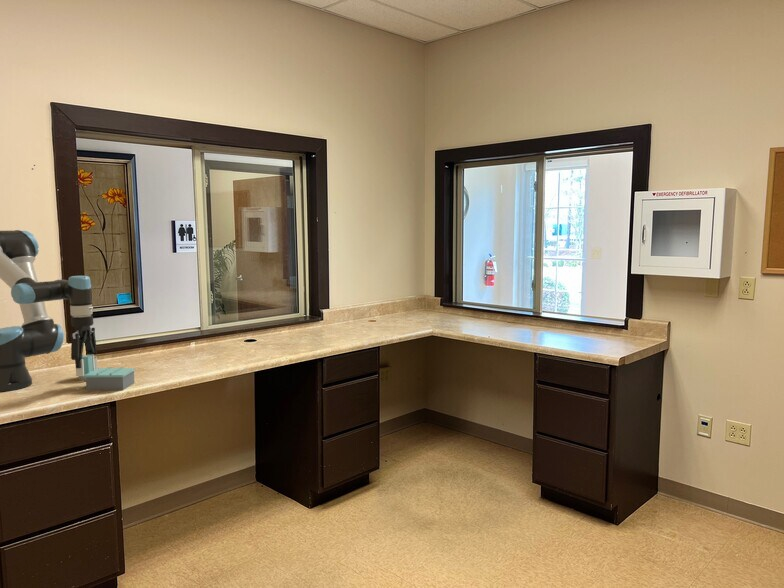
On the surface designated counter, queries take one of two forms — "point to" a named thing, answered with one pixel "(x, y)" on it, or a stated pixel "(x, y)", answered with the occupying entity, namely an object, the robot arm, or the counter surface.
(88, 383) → the tub
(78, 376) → the cup
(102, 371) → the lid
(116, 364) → the counter surface
